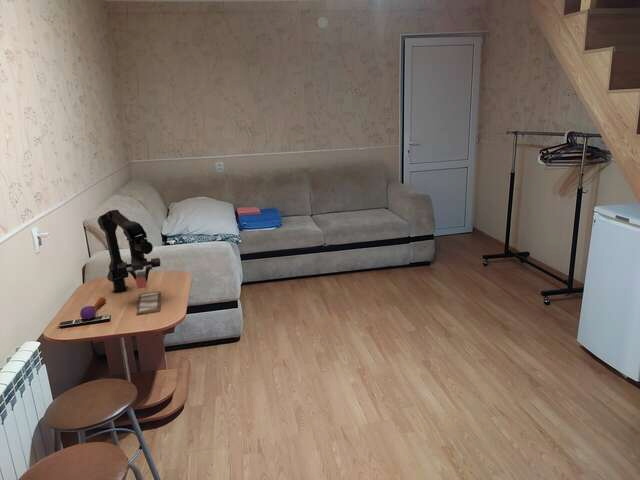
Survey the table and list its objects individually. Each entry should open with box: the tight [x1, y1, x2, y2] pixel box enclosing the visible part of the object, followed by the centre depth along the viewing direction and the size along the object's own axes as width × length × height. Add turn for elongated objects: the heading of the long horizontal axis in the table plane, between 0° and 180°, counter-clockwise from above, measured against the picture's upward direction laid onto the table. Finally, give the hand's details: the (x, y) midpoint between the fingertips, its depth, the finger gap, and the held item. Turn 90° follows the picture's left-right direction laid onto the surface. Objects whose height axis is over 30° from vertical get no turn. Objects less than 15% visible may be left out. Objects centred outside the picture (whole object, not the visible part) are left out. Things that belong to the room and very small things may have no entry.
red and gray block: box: [135, 270, 148, 290], centre depth 220 cm, size 11×4×4 cm, turn 17°
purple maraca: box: [79, 296, 107, 320], centre depth 214 cm, size 6×6×20 cm
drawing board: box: [136, 290, 162, 316], centre depth 220 cm, size 24×10×1 cm, turn 17°
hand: (142, 281), depth 220 cm, fingers closed on red and gray block, 4 cm apart
